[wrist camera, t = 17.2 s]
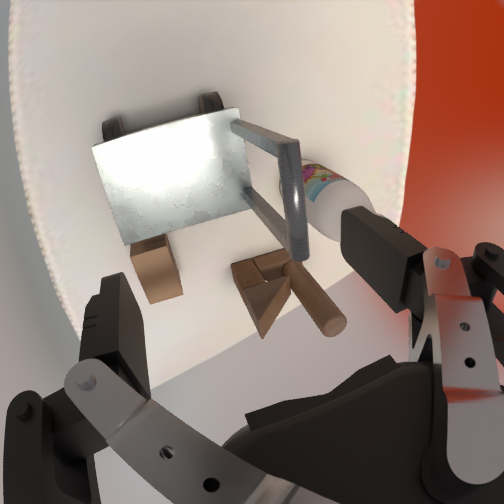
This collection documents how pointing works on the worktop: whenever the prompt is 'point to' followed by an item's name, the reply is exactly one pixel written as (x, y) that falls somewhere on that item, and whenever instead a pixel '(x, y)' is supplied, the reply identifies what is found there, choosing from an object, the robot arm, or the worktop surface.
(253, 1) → the worktop surface
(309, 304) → the wooden block
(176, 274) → the block
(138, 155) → the trolley
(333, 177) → the milk bottle
